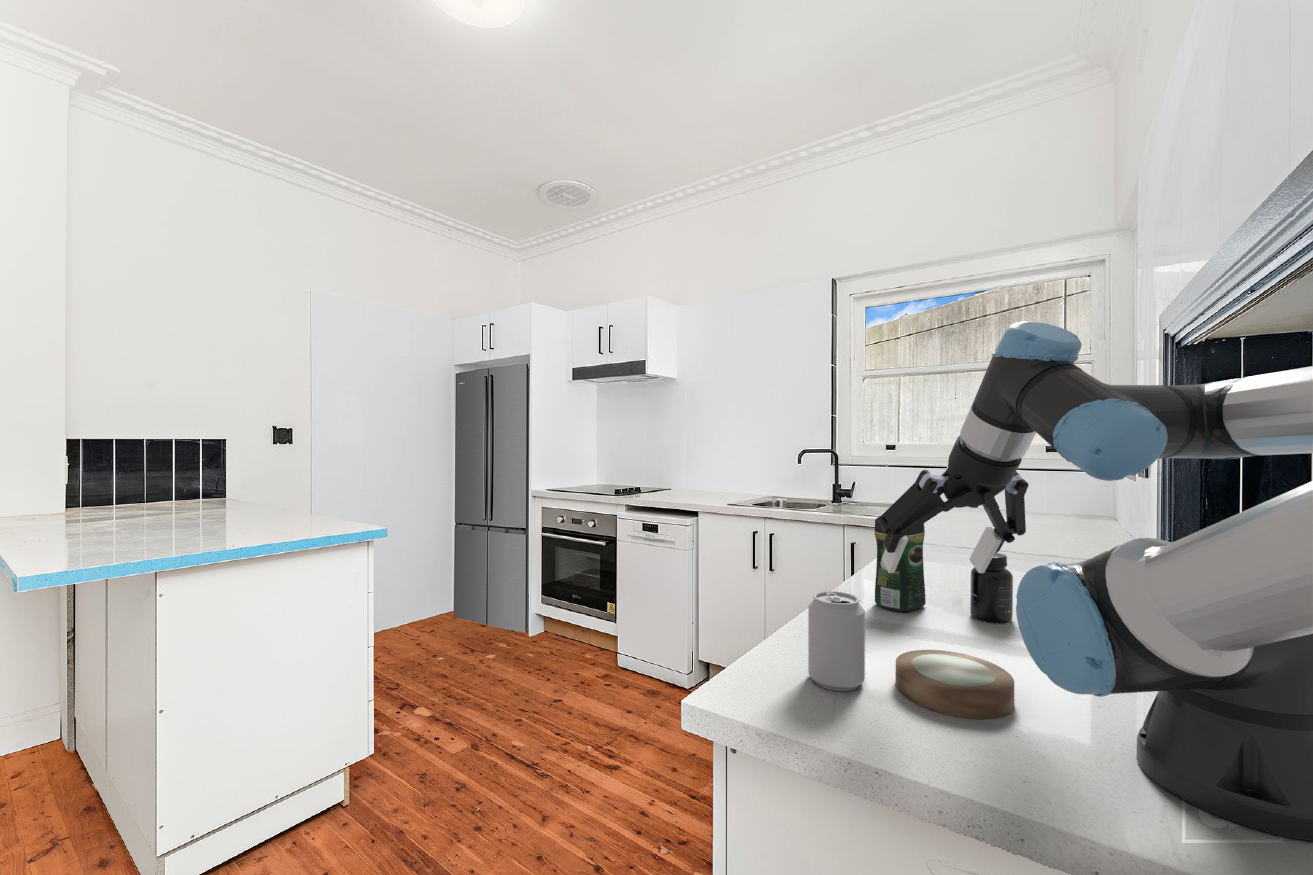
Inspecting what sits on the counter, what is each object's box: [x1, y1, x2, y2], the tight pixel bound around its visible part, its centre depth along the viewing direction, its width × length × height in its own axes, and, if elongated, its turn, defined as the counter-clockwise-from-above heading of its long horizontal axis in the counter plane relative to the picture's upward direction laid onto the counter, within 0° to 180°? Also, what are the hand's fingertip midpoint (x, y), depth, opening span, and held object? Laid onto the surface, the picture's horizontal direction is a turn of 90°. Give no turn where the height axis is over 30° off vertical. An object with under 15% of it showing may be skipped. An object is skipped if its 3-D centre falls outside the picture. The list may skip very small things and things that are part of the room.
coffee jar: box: [874, 515, 926, 613], centre depth 112 cm, size 10×8×19 cm
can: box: [807, 590, 866, 692], centre depth 79 cm, size 8×8×12 cm
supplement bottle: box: [969, 552, 1014, 625], centre depth 105 cm, size 7×7×12 cm
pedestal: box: [894, 649, 1015, 720], centre depth 75 cm, size 14×14×3 cm
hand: (932, 566), depth 82 cm, fingers open, 13 cm apart
